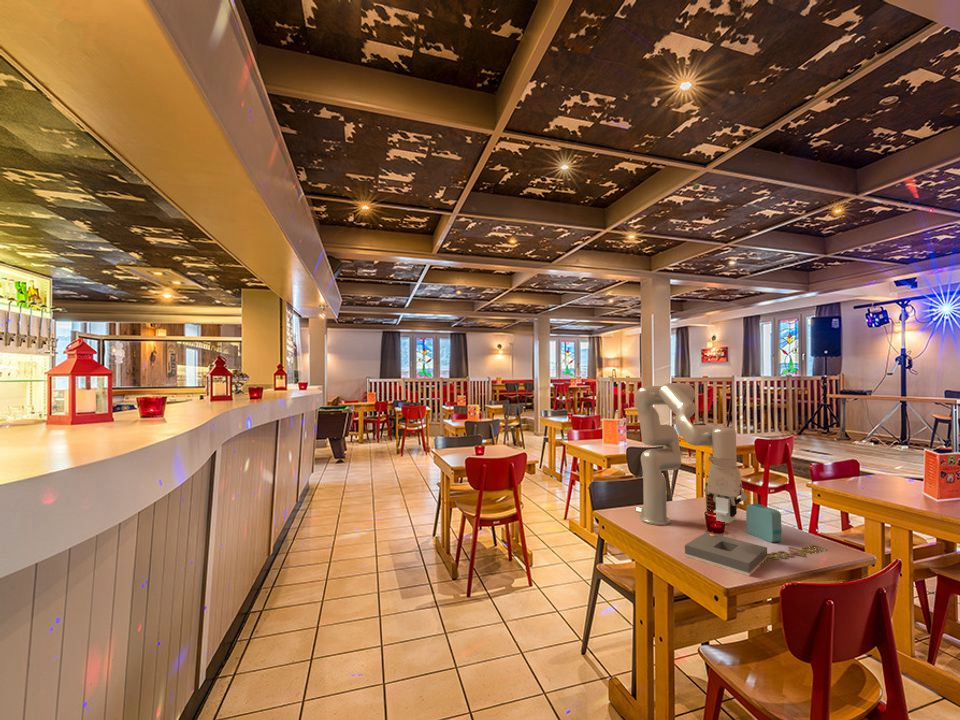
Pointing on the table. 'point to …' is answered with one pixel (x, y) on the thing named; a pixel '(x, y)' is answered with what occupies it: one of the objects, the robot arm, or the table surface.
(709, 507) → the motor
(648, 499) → the robot arm
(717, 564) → the chassis
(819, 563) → the table surface
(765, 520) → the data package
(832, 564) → the table surface
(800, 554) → the text sign
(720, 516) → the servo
